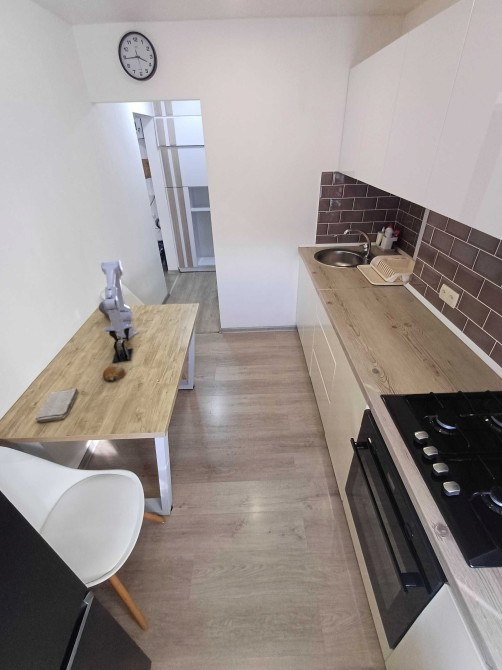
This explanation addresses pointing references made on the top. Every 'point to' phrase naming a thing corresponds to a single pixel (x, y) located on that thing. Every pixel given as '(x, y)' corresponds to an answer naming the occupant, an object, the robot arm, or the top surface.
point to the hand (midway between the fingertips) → (122, 341)
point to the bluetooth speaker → (102, 309)
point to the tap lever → (120, 342)
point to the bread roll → (113, 372)
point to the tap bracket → (122, 353)
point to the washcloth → (57, 405)
